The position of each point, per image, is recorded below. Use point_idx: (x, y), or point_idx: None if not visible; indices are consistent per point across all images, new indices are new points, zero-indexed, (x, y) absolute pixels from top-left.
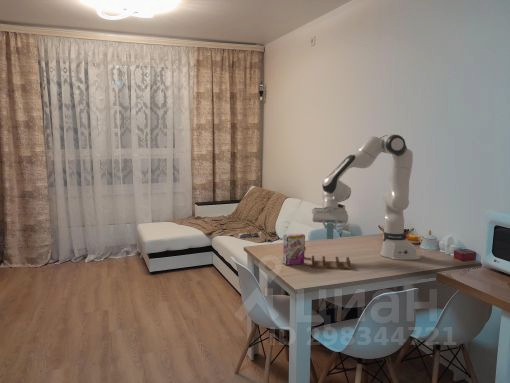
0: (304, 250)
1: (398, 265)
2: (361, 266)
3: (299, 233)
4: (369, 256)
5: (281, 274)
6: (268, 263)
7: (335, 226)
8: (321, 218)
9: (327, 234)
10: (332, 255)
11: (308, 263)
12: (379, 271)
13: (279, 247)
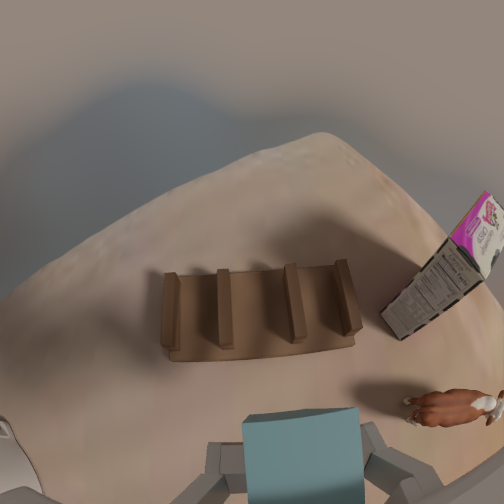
0: (414, 415)
1: (12, 358)
2: (121, 335)
3: (489, 269)
4: (76, 481)
5: (398, 192)
6: None
7: (214, 450)
8: (478, 478)
9: (310, 409)
10: None
11: None
12: (78, 283)
13: None
